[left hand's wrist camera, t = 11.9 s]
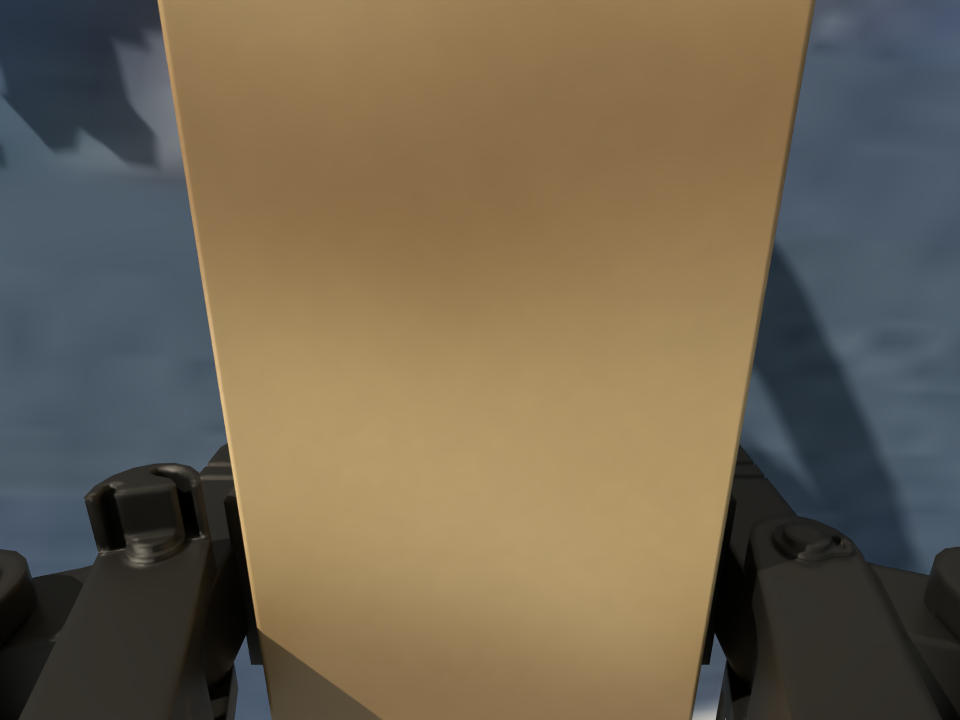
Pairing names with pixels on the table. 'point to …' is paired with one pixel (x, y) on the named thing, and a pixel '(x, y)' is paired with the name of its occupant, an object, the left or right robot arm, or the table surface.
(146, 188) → the table surface
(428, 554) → the oak beam
